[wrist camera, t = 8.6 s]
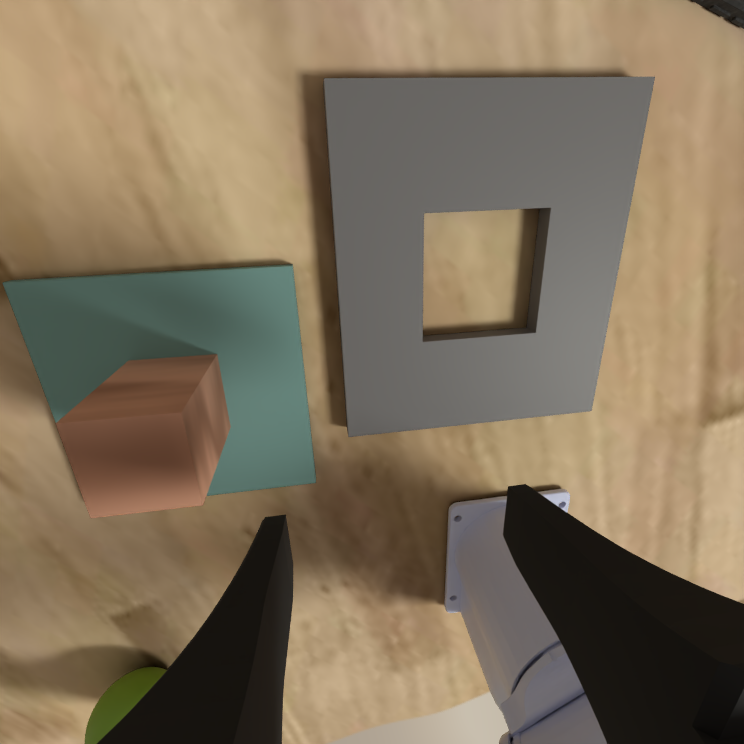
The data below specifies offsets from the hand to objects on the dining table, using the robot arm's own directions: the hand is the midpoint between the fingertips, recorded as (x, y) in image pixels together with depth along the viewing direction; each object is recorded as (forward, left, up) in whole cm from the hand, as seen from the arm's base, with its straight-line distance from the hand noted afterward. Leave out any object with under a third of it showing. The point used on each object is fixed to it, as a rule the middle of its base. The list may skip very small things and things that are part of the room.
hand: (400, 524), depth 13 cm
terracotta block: (+1, +9, -9) cm, 13 cm away
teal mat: (+1, +9, -10) cm, 13 cm away
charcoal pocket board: (+6, -6, -10) cm, 13 cm away
